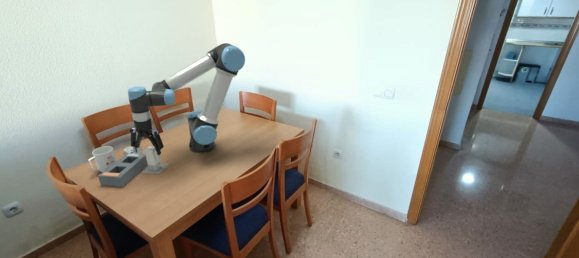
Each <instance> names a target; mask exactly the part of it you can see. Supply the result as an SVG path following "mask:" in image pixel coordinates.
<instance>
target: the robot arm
mask: <svg viewBox="0 0 579 258" xmlns="http://www.w3.org/2000/svg"><path fill="white" fill-rule="evenodd" d="M245 64H246V57H245V53H244V52H243V51H242V50H241V49H240V48H239V47H238V46H236V45H233V44H230V43H226V42H225V43H221V44H219V45H217V46H215V47H214V48H212V49H210V50H209V51H207V52H206V54H205V55H204V56H202V57H201V58H199V59H198V60H196V61H193V62H192V63H191V64H189V65H187V66H185V67H184V68H182V69H180V70H178V71H177V72H175V73H173V74H171V75H169V76H168V77H166V78H164V79H163V80H161V81H156V82H154V83H153V84H152V86H151V90H147V89H146V87H145V86H139V85H137V86H132V87H129V88H128V90H127V94H128V101H129V106H130V111H131V116H132V121H133V125H134V127H131V128H130V129H129V131H130V147H133V146H134V147H135V149H136V153H138V157H139V159H142V158H143V154H144V152H143V148H142V145H141V142H142V139H143V138H147V140H149V142H150V143H151V144H152V146H154V147H155V156H156V161H160V160H162V159H161V157H162V156H161V155H162V149H163V148H164V147H165V145H164V143H163V140H162V138H161V135H160V130H159V129H154V128H153V127H152V126H153V122H152V119H151V112H150V108H151V107H164V106H172V105H174V104H175V103H176V96H175V91H177V90H179V89H180V88H183V87H185V86H186V85H187V84H189V83H191V82H193V81H194V80H196V79H197V78H199V77H202V75H204V74H206V73H207V72H210V71H211V70H213V69H215V70H216V71H215V75H214V77H213V81H212V83H211V86H210V88H209V92H208V94H207V97H206V100H205V103H204V105H203V108H202V109H200V110H193V111H191V112H188V113H187V116H186V119H187V124H188V129H189V143H188V149H189V151H190V152H193V153H197V154H198V153H199V154H200V153H208V152H211V151H212V150H214V149H215V147H216V142H215V140H216V139H217V136H218V132H217V128H218V126H219V124H220V123H219V120H218V118H219V114H220V113H221V110H222V107H223V105H224V102H225V100H226V97H227V93H228V91H229V89H230V86H231V83H232V81H233V78H235V77H237V76H238V73H239V71H241V70H242V69H243V67H244V66H245Z"/></svg>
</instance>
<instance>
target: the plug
mask: <svg viewBox="0 0 579 258" xmlns="http://www.w3.org/2000/svg"><path fill="white" fill-rule="evenodd" d="M143 150H144V155H146V159H147V163H148V165H147V166H148V167H149V170H156V171H157V170H158V169H159V168H160V167H161V165H160V163H161V162H160V160H159V161H156V156H155V147H154V146H153V145H149V146H147V147H146V148H144V149H143Z"/></svg>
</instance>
